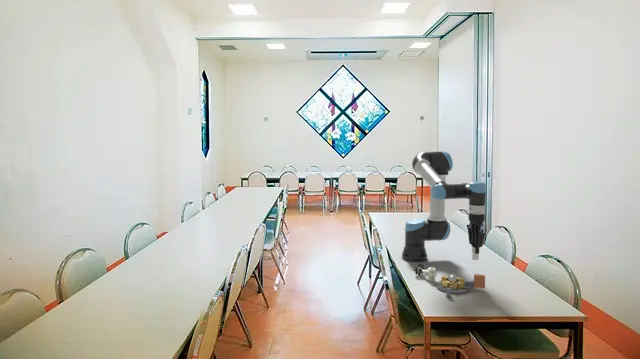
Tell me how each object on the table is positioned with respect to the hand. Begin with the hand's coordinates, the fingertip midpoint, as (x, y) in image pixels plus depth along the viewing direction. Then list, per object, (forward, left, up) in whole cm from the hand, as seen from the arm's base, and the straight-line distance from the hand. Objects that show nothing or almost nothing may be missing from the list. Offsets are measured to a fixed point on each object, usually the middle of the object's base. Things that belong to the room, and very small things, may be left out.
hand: (475, 259), depth 213 cm
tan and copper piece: (+6, -6, -12) cm, 15 cm away
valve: (-5, -24, -14) cm, 28 cm away
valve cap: (+6, -11, -13) cm, 18 cm away
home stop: (+18, -13, -13) cm, 26 cm away
